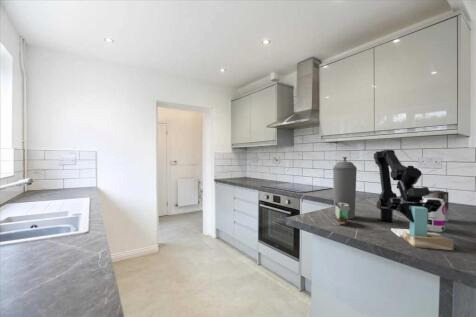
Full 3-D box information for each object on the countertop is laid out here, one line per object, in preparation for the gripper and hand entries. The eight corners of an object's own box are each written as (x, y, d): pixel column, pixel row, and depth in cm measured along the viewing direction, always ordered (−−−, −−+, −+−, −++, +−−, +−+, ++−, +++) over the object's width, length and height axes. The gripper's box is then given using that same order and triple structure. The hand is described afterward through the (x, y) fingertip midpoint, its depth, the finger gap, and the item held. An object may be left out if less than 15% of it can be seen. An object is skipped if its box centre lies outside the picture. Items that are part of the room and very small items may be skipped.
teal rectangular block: (409, 235, 98) (409, 205, 98) (421, 236, 97) (422, 206, 97) (414, 238, 94) (414, 208, 94) (426, 239, 93) (427, 208, 93)
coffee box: (438, 218, 132) (438, 190, 131) (448, 221, 125) (449, 192, 125) (422, 218, 131) (423, 190, 131) (432, 221, 125) (433, 192, 125)
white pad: (391, 230, 111) (391, 228, 111) (412, 231, 109) (412, 229, 109) (399, 237, 102) (399, 234, 102) (423, 238, 100) (423, 236, 100)
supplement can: (444, 229, 112) (445, 198, 112) (444, 233, 106) (444, 201, 106) (423, 225, 118) (423, 196, 118) (421, 229, 112) (422, 198, 112)
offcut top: (424, 237, 98) (424, 232, 98) (435, 237, 97) (435, 233, 97) (434, 243, 91) (434, 238, 91) (446, 244, 90) (446, 239, 90)
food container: (352, 226, 116) (352, 207, 116) (339, 226, 118) (339, 206, 117) (346, 219, 128) (346, 202, 128) (334, 219, 130) (334, 201, 129)
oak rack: (402, 237, 101) (403, 228, 101) (437, 240, 98) (437, 231, 98) (414, 247, 91) (414, 236, 91) (453, 250, 88) (453, 239, 88)
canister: (335, 213, 143) (335, 156, 142) (358, 216, 136) (358, 156, 135) (329, 217, 133) (330, 157, 132) (354, 221, 125) (355, 157, 125)
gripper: (389, 179, 101) (400, 210, 91) (439, 180, 97) (457, 213, 86) (382, 194, 109) (392, 224, 98) (428, 195, 105) (443, 227, 94)
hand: (420, 222), depth 94 cm, fingers closed on teal rectangular block, 4 cm apart
